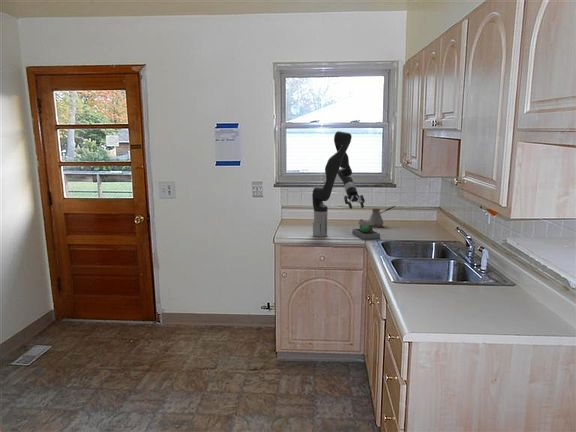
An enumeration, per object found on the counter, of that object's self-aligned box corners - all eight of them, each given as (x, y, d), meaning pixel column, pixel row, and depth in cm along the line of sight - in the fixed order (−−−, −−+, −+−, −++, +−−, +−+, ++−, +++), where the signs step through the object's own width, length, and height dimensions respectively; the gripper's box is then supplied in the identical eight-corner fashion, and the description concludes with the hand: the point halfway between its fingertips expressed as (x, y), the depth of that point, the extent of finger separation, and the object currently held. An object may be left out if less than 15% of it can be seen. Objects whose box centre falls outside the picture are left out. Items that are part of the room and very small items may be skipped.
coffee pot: (370, 228, 318) (371, 208, 316) (365, 225, 330) (366, 205, 327) (398, 227, 322) (399, 207, 319) (392, 223, 333) (393, 204, 330)
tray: (363, 239, 283) (363, 234, 283) (352, 233, 300) (352, 229, 300) (380, 238, 287) (380, 233, 286) (367, 232, 304) (368, 227, 303)
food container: (354, 234, 297) (354, 219, 295) (361, 233, 300) (361, 218, 298) (366, 237, 287) (366, 223, 285) (373, 236, 290) (373, 222, 288)
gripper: (343, 186, 308) (349, 205, 299) (361, 186, 312) (368, 204, 303) (340, 193, 314) (346, 211, 305) (358, 192, 318) (364, 210, 309)
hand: (357, 207), depth 304 cm, fingers open, 8 cm apart
